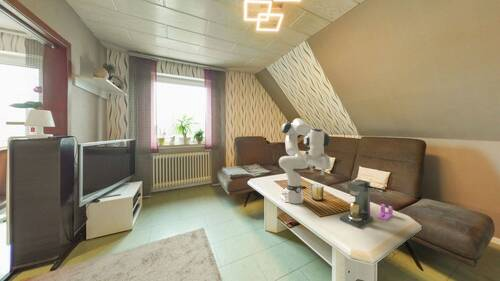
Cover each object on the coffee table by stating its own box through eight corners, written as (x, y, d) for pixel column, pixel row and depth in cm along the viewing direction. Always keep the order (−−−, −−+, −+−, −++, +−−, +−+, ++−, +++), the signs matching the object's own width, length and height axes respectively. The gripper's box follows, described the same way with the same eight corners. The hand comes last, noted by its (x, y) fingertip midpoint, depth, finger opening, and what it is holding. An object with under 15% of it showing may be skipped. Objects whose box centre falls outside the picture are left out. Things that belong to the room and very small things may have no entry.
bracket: (382, 212, 122) (382, 203, 122) (392, 215, 118) (392, 205, 118) (375, 218, 115) (376, 208, 114) (386, 221, 110) (386, 211, 110)
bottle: (348, 216, 113) (348, 200, 113) (353, 214, 115) (354, 199, 115) (355, 219, 109) (355, 203, 108) (360, 218, 110) (361, 202, 110)
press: (373, 234, 97) (373, 191, 96) (339, 219, 114) (339, 182, 113) (387, 225, 106) (387, 185, 105) (354, 213, 123) (354, 178, 122)
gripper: (332, 154, 106) (333, 176, 106) (310, 151, 125) (310, 169, 126) (325, 154, 104) (325, 177, 104) (303, 151, 123) (303, 170, 123)
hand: (317, 173), depth 115 cm, fingers open, 8 cm apart
